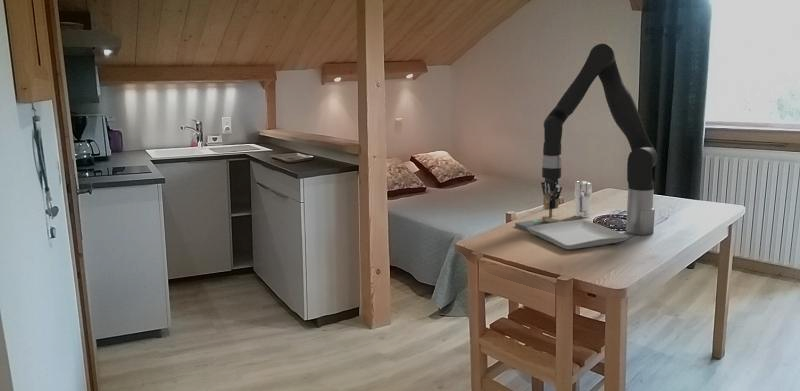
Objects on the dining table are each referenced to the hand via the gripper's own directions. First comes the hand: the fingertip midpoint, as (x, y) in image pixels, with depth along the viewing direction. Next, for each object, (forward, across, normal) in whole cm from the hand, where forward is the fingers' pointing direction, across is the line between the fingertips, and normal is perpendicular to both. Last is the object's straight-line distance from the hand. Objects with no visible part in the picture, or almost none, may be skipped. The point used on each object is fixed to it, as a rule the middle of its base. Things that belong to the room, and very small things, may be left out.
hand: (550, 207), depth 256 cm
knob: (+6, 0, +2) cm, 6 cm away
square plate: (+8, -21, +1) cm, 23 cm away
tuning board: (+7, -1, +4) cm, 8 cm away
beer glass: (+8, +10, -20) cm, 24 cm away
